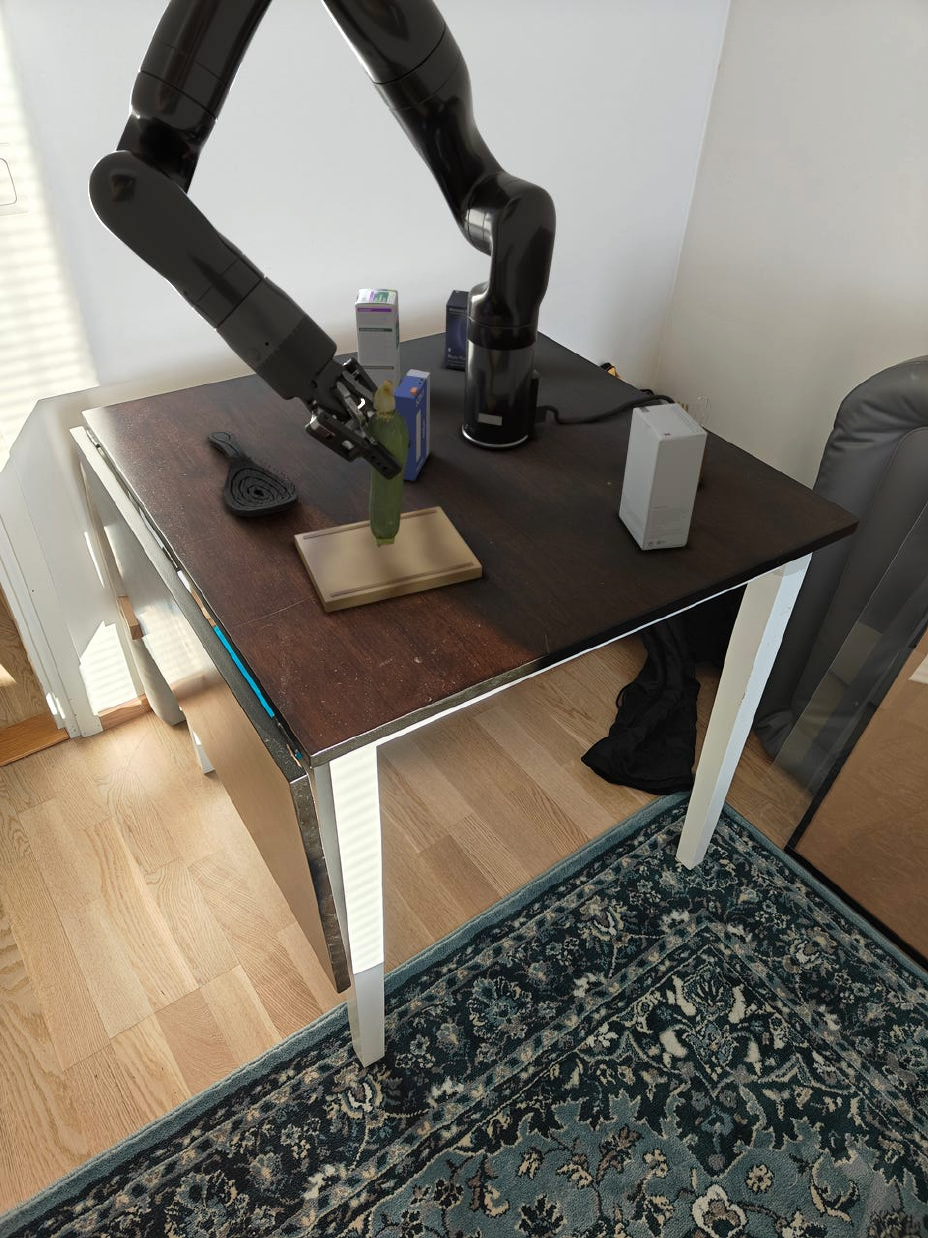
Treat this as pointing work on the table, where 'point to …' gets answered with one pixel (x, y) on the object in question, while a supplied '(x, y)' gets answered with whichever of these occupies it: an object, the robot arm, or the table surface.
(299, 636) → the table surface
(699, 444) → the cosmetic box
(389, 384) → the vegetable
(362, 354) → the syrup box
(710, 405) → the utensil holder
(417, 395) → the walkman
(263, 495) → the hairbrush
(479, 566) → the cutting board
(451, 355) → the small box
